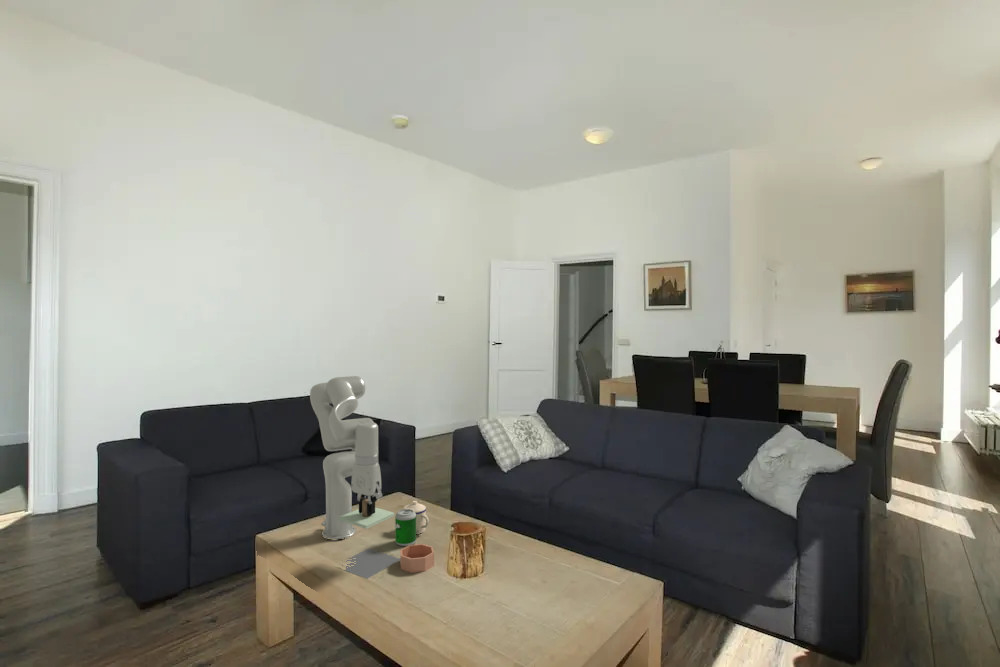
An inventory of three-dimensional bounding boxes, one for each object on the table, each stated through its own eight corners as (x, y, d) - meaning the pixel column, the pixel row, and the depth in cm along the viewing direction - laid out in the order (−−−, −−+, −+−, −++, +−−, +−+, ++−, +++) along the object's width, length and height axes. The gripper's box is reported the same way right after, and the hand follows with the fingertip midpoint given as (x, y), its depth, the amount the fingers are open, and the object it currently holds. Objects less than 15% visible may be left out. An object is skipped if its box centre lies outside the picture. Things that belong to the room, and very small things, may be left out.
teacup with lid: (398, 531, 205) (397, 502, 205) (414, 524, 213) (414, 495, 212) (420, 539, 198) (419, 508, 198) (436, 531, 206) (436, 502, 205)
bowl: (393, 568, 175) (393, 553, 175) (415, 555, 184) (415, 541, 184) (418, 577, 169) (418, 561, 169) (440, 563, 179) (440, 549, 179)
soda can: (418, 540, 198) (418, 508, 197) (413, 548, 190) (413, 516, 190) (398, 539, 198) (398, 508, 198) (392, 548, 191) (392, 515, 190)
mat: (333, 567, 175) (333, 566, 175) (368, 550, 189) (368, 548, 189) (367, 580, 167) (367, 578, 167) (401, 560, 181) (401, 559, 181)
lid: (338, 520, 176) (338, 502, 176) (367, 507, 187) (367, 491, 187) (366, 528, 169) (366, 510, 169) (394, 515, 180) (394, 498, 180)
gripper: (341, 458, 178) (341, 511, 179) (376, 466, 170) (376, 522, 170) (358, 453, 185) (358, 504, 185) (392, 460, 176) (392, 514, 177)
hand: (367, 512), depth 178 cm, fingers closed on lid, 3 cm apart
